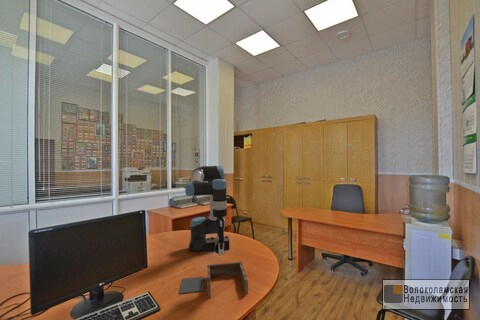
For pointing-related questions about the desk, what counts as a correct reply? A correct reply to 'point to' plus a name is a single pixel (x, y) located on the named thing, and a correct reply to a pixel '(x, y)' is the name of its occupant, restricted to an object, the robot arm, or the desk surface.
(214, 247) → the camera
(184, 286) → the mat
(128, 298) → the desk surface
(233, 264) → the cubby
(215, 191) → the robot arm
